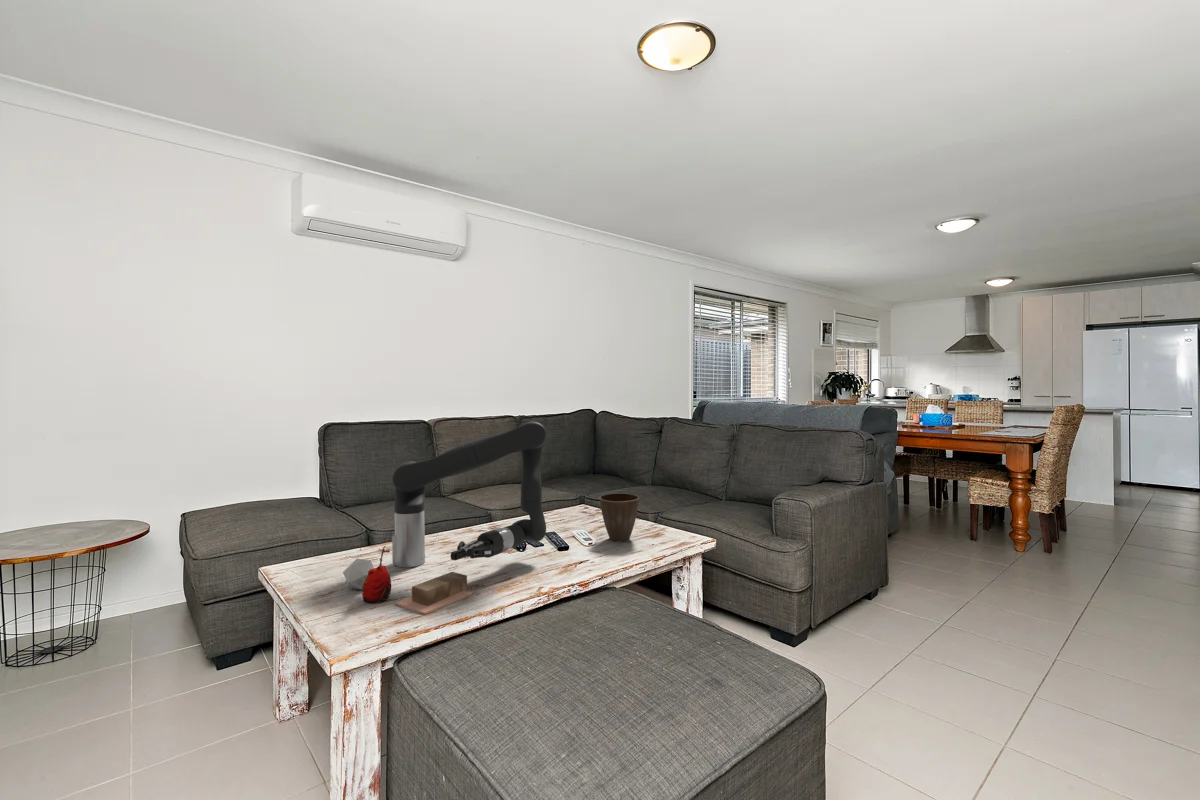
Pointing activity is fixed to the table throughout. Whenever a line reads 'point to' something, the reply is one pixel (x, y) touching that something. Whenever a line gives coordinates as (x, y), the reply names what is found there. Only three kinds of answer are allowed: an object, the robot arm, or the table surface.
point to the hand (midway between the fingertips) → (452, 556)
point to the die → (357, 573)
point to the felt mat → (435, 606)
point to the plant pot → (619, 514)
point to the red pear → (377, 583)
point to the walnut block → (439, 588)
